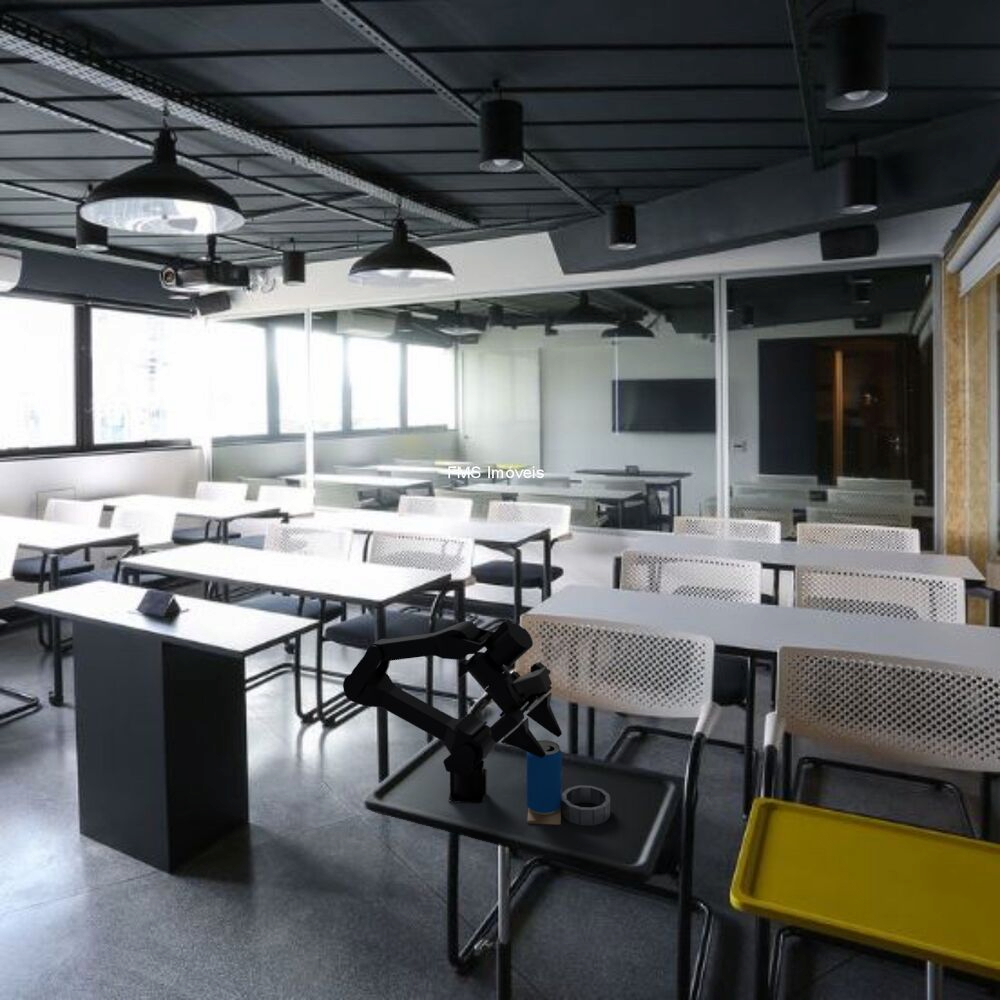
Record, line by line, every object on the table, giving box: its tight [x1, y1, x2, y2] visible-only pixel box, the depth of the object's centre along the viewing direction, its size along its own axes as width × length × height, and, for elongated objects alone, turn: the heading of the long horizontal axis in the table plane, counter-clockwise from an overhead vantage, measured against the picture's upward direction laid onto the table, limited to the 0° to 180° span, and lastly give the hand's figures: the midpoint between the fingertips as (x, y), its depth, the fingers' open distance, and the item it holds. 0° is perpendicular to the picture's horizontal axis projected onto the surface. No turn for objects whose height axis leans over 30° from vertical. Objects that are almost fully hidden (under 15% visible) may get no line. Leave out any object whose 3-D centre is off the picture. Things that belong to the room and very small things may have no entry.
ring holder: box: [561, 784, 611, 827], centre depth 152 cm, size 9×9×3 cm
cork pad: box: [526, 806, 562, 826], centre depth 153 cm, size 6×9×1 cm, turn 176°
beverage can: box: [526, 739, 563, 815], centre depth 152 cm, size 6×6×12 cm
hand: (552, 745), depth 150 cm, fingers open, 9 cm apart
